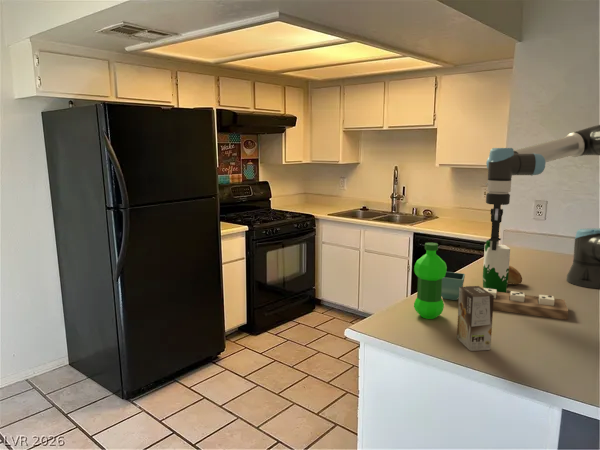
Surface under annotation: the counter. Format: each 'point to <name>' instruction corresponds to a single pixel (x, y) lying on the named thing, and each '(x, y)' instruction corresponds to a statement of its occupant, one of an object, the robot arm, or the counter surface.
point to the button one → (491, 291)
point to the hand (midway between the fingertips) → (493, 258)
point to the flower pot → (452, 285)
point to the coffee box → (475, 318)
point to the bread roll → (514, 276)
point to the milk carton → (496, 268)
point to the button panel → (530, 306)
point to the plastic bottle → (429, 283)
